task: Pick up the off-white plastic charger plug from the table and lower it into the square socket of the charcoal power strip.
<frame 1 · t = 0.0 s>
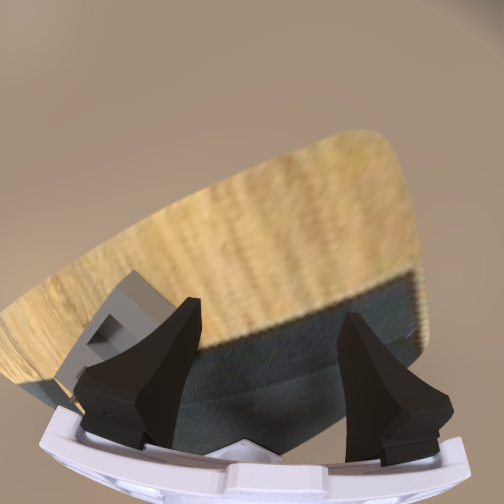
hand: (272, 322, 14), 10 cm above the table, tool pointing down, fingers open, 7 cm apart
power strip: (117, 349, 28), on the table
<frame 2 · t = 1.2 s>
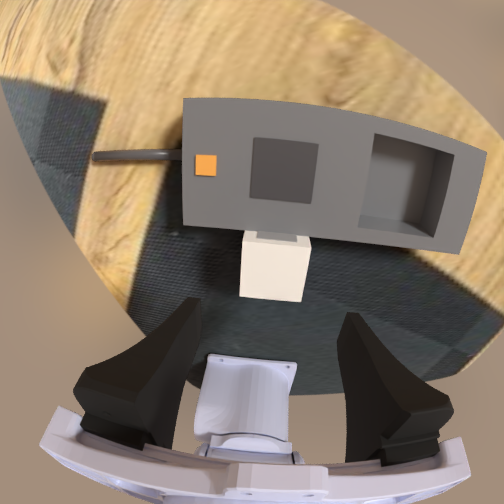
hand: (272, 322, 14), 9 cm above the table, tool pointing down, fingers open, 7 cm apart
charger plug: (274, 237, 22), on the table, touching power strip
power strip: (339, 167, 19), on the table
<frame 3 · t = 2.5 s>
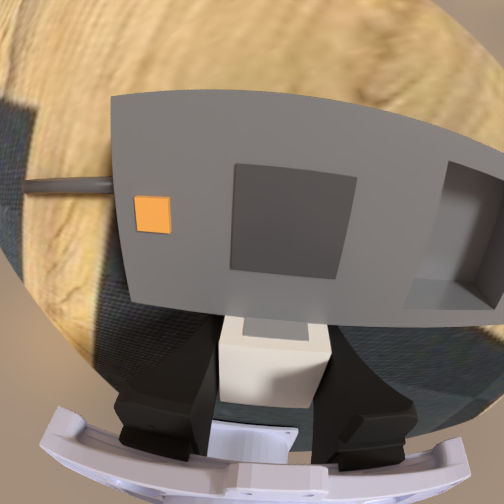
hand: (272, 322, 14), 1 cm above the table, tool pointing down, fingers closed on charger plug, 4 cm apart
charger plug: (273, 304, 15), on the table, touching gripper, power strip
power strip: (375, 204, 12), on the table
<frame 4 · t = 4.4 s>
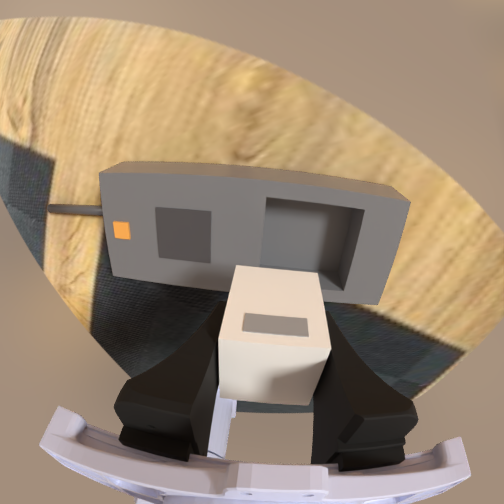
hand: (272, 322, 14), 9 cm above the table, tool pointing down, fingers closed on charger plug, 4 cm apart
charger plug: (272, 301, 15), point 8 cm above the table, touching gripper
power strip: (250, 220, 21), on the table
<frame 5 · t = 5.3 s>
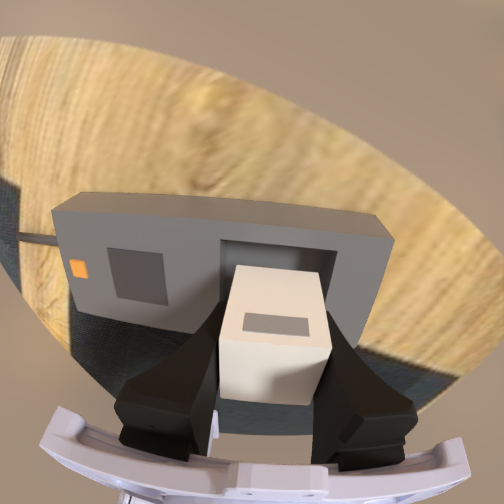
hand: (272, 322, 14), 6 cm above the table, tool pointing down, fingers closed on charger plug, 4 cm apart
charger plug: (273, 301, 15), point 4 cm above the table, touching gripper
power strip: (213, 255, 19), on the table
when the fingers open (4 cm above the table, at t = 6.1 s): charger plug drops 2 cm, resting on power strip.
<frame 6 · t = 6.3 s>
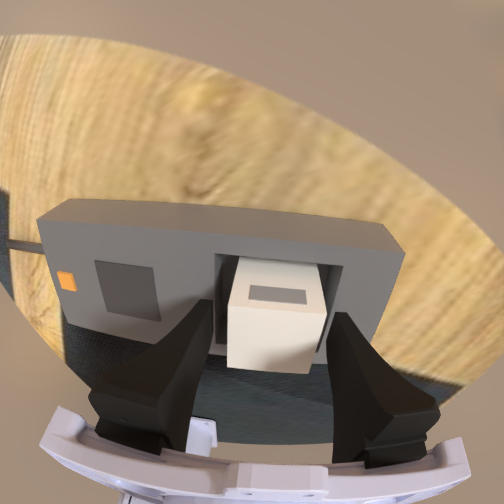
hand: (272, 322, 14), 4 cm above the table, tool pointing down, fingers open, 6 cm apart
charger plug: (274, 281, 17), point 1 cm above the table, touching power strip
power strip: (209, 266, 18), on the table
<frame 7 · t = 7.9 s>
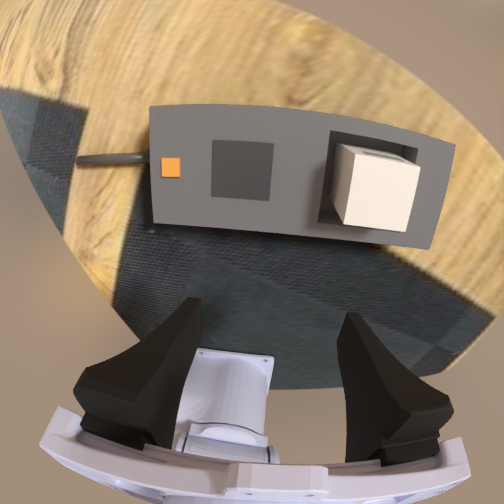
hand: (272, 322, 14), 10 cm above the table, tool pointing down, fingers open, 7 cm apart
charger plug: (360, 173, 19), point 1 cm above the table, touching power strip
power strip: (303, 164, 20), on the table
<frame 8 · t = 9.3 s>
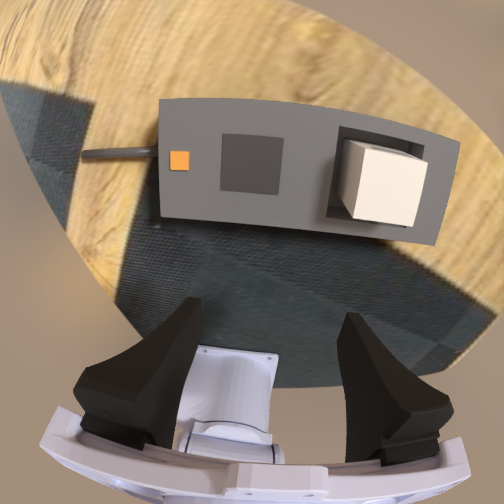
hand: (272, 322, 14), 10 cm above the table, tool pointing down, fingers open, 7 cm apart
charger plug: (366, 170, 19), point 1 cm above the table, touching power strip
power strip: (310, 160, 20), on the table
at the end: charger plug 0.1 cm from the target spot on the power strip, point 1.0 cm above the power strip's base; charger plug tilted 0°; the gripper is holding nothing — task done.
